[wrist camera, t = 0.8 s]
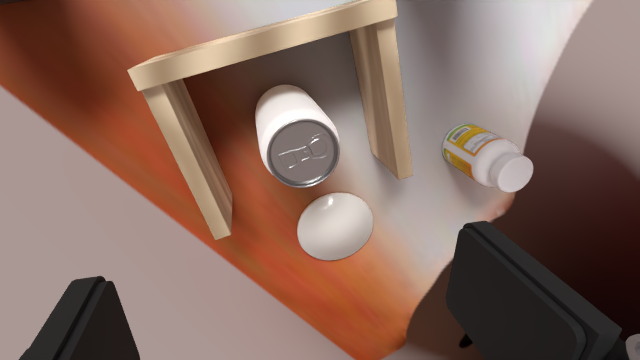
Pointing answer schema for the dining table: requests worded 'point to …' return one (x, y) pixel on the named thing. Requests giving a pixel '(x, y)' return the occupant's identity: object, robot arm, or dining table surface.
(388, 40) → the wooden arch stand
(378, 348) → the dining table surface
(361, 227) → the coaster
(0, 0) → the coffee mug
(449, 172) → the dining table surface
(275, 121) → the can
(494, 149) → the supplement bottle
